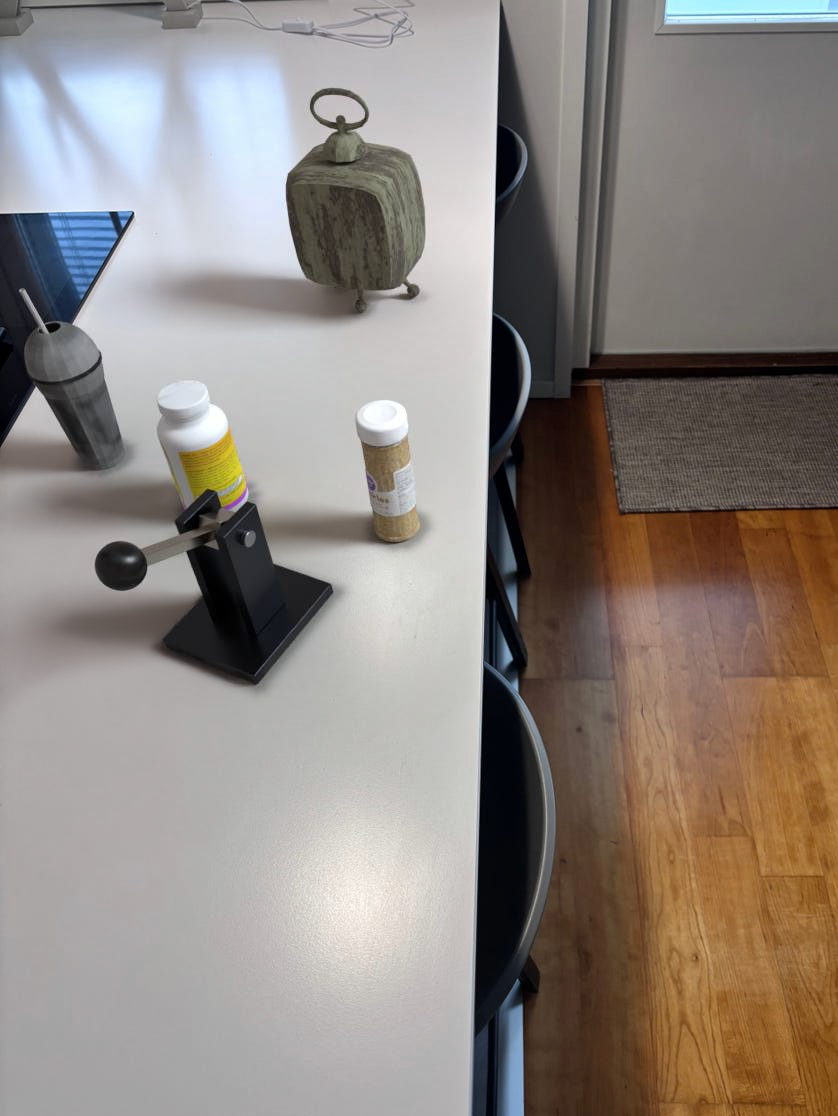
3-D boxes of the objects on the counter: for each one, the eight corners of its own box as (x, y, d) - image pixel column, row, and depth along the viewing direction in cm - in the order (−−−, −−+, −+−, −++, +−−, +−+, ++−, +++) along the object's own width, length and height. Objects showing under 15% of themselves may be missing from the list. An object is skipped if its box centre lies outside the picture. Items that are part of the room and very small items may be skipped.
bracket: (257, 685, 83) (219, 578, 74) (165, 648, 87) (117, 541, 77) (333, 592, 90) (308, 483, 81) (245, 561, 94) (211, 453, 84)
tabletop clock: (432, 291, 125) (412, 77, 106) (408, 329, 120) (381, 110, 101) (329, 279, 129) (291, 70, 110) (300, 315, 123) (255, 101, 104)
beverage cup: (152, 444, 107) (87, 271, 92) (109, 485, 102) (33, 310, 87) (99, 430, 109) (27, 258, 94) (55, 469, 105) (-28, 296, 90)
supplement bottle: (263, 494, 100) (233, 386, 91) (217, 532, 97) (181, 424, 87) (216, 473, 103) (182, 366, 93) (170, 509, 99) (130, 401, 90)
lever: (122, 603, 70) (121, 556, 68) (84, 588, 71) (82, 542, 69) (248, 550, 82) (250, 509, 80) (214, 539, 83) (215, 498, 81)
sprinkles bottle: (364, 531, 96) (343, 416, 86) (397, 506, 98) (380, 391, 88) (398, 551, 93) (380, 435, 83) (431, 525, 96) (417, 410, 86)
